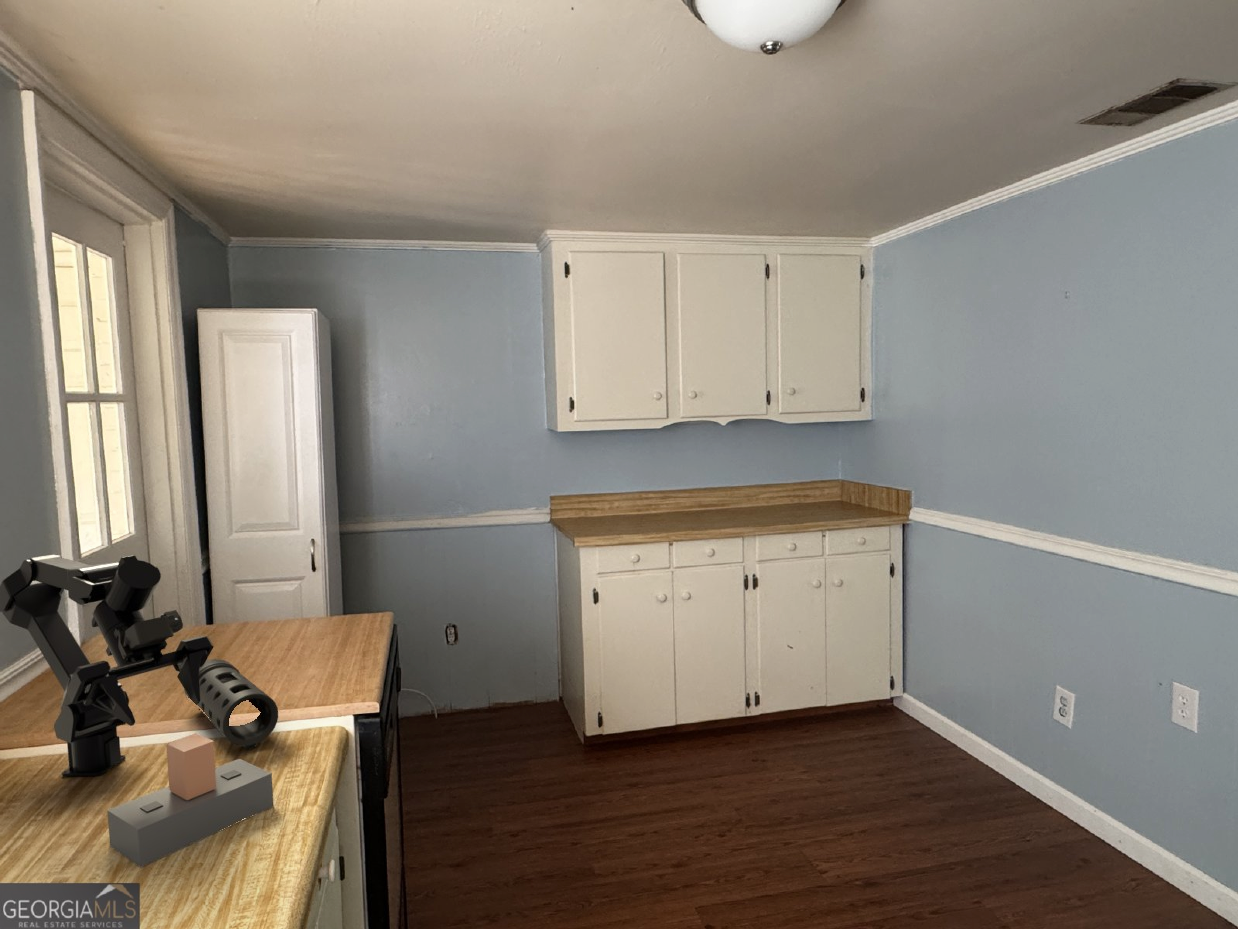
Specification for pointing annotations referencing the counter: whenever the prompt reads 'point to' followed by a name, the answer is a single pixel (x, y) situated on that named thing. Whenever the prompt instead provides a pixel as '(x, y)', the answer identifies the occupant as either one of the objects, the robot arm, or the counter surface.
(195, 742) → the plug
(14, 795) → the counter surface
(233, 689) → the muzzle brake
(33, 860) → the counter surface
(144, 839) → the socket block
